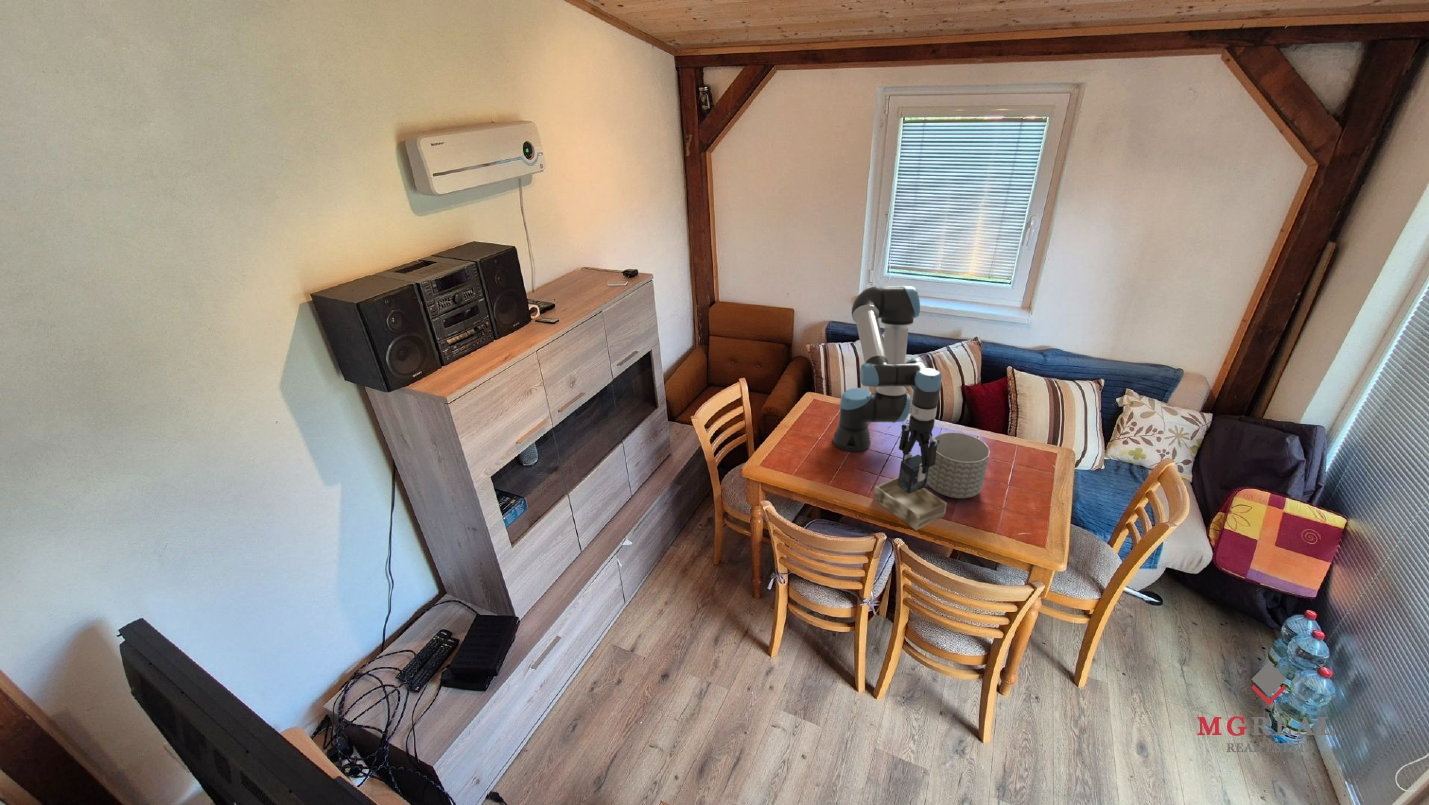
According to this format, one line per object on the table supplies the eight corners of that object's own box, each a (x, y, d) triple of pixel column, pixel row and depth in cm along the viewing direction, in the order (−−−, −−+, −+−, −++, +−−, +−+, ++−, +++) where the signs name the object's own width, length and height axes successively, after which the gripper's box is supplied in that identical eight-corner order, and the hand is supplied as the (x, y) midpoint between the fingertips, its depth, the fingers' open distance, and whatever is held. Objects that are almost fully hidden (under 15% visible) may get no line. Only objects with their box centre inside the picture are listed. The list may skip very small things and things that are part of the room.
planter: (975, 475, 210) (984, 434, 201) (984, 507, 194) (995, 465, 185) (921, 470, 214) (928, 430, 206) (926, 501, 198) (934, 459, 189)
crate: (872, 499, 201) (874, 487, 198) (901, 486, 207) (902, 474, 204) (915, 531, 186) (917, 518, 183) (944, 515, 192) (947, 503, 189)
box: (909, 494, 188) (912, 468, 183) (897, 485, 192) (900, 460, 187) (926, 487, 191) (930, 461, 186) (914, 478, 195) (918, 453, 190)
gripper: (892, 407, 184) (884, 465, 195) (938, 432, 169) (927, 493, 181) (908, 400, 187) (900, 458, 198) (955, 424, 173) (943, 485, 184)
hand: (913, 474), depth 189 cm, fingers closed on box, 6 cm apart
